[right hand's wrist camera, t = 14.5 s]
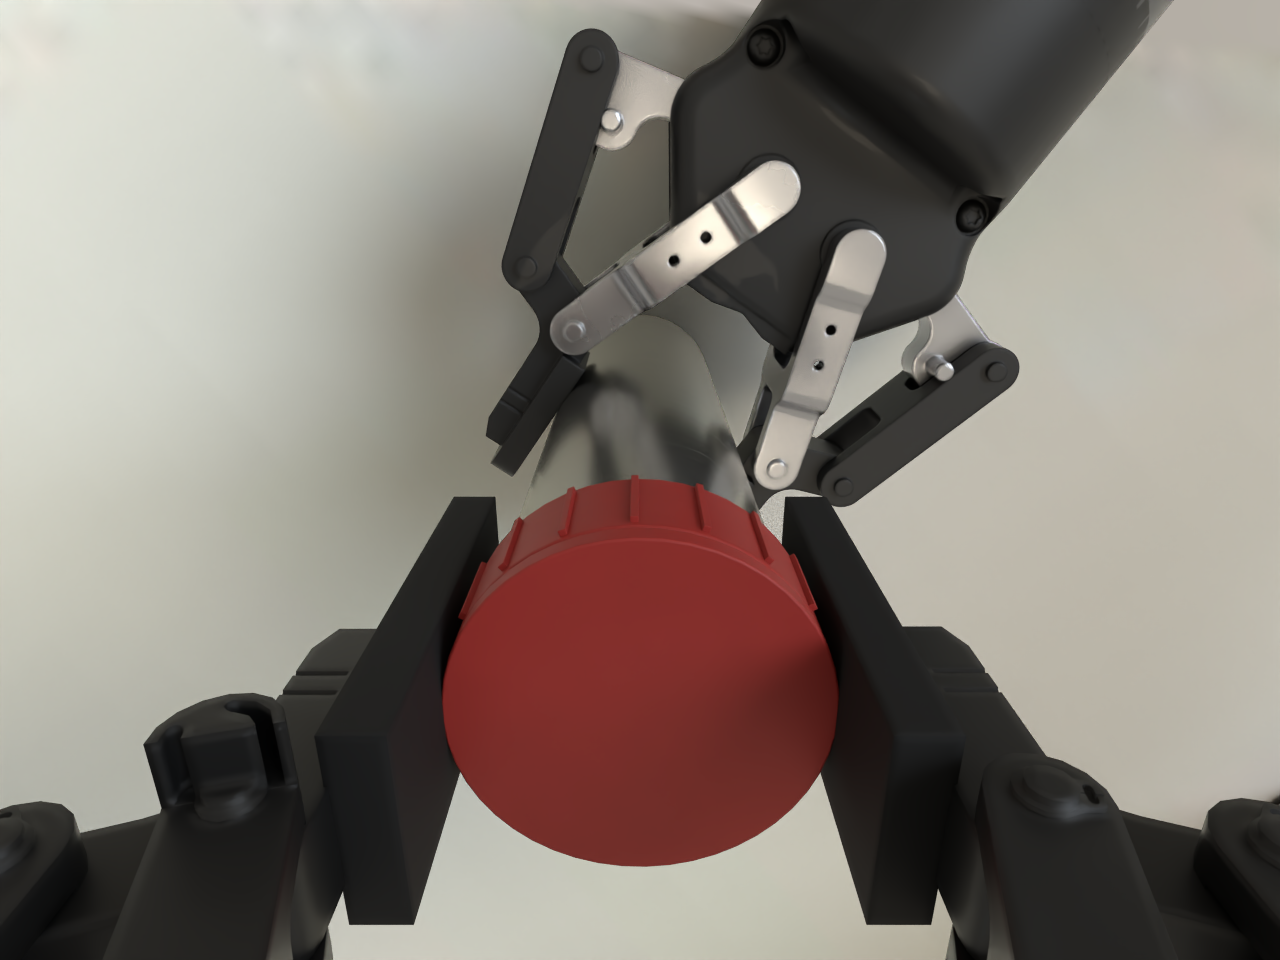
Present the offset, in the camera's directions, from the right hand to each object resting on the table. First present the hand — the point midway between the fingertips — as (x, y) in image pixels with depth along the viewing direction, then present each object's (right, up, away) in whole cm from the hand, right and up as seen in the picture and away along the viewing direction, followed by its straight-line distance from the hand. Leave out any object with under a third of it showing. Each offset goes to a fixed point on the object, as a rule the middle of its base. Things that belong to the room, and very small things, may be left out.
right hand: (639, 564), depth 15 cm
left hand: (-2, +1, +8) cm, 8 cm away
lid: (0, -1, -4) cm, 4 cm away
